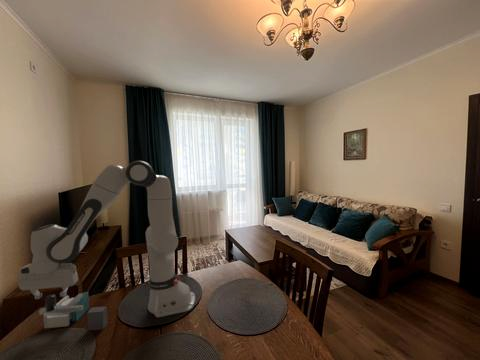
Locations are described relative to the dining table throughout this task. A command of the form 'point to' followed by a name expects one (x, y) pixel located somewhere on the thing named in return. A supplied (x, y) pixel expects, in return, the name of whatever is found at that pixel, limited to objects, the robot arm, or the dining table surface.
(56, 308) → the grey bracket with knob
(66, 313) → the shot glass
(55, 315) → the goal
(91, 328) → the rod housing
